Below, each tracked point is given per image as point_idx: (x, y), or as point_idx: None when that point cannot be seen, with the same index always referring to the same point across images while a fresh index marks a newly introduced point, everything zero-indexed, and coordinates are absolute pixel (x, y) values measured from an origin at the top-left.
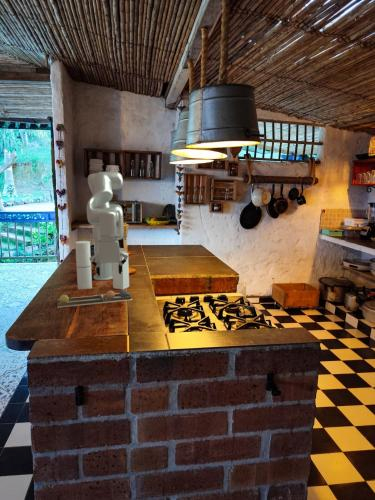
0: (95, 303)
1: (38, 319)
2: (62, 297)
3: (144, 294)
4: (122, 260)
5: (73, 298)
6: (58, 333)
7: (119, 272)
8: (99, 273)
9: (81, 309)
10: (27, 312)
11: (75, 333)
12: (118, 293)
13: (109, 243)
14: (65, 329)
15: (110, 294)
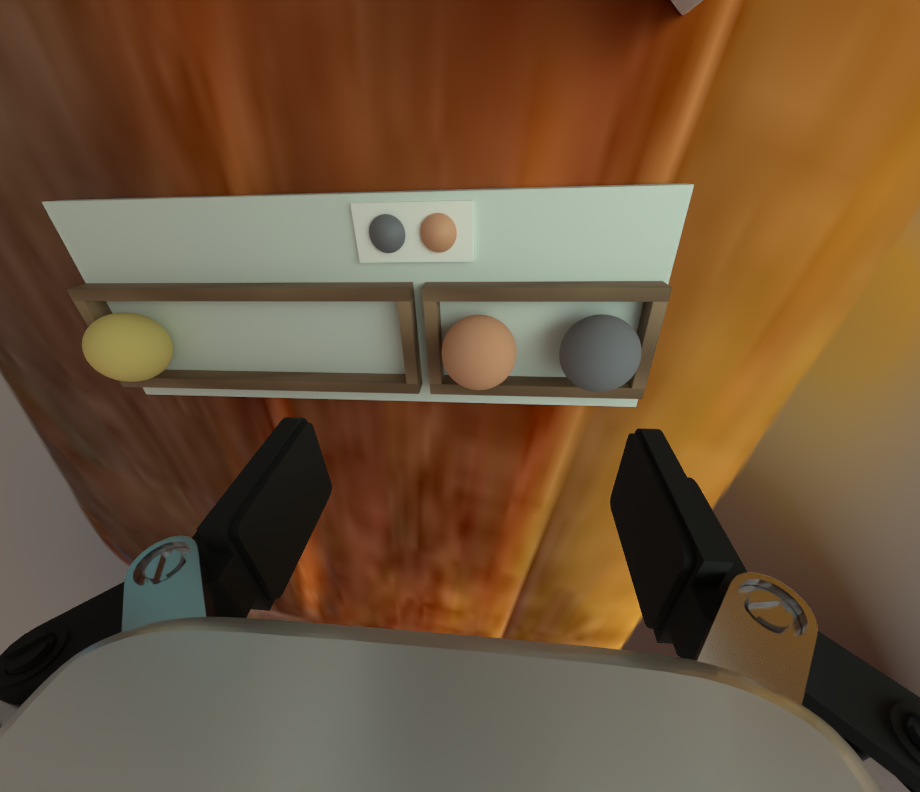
0: (371, 396)
1: (130, 471)
2: (112, 378)
3: (837, 224)
4: (856, 746)
5: (186, 300)
6: None
7: (615, 523)
8: (315, 515)
9: (299, 414)
10: (3, 368)
11: (329, 604)
12: (582, 194)
13: None
14: None
15: (476, 389)
